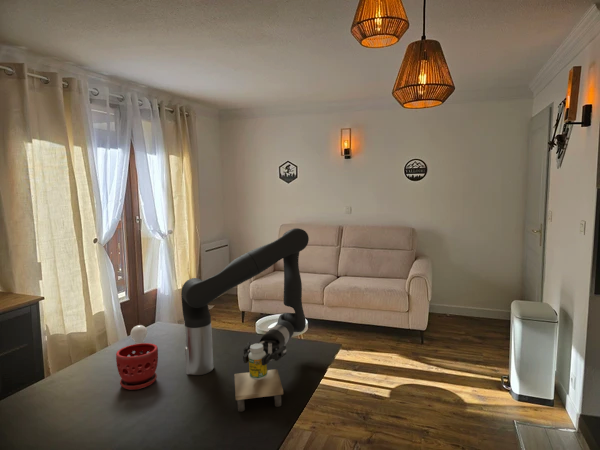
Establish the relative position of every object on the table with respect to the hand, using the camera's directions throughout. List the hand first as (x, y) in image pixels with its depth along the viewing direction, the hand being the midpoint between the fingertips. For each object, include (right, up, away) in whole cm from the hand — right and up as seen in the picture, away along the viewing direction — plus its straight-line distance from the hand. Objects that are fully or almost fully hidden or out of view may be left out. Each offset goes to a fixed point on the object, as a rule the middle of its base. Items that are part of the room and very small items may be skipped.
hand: (253, 361), depth 121 cm
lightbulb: (-51, -10, +41) cm, 66 cm away
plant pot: (-41, -13, +15) cm, 45 cm away
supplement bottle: (+1, -6, +3) cm, 7 cm away
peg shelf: (+1, -13, +4) cm, 13 cm away
